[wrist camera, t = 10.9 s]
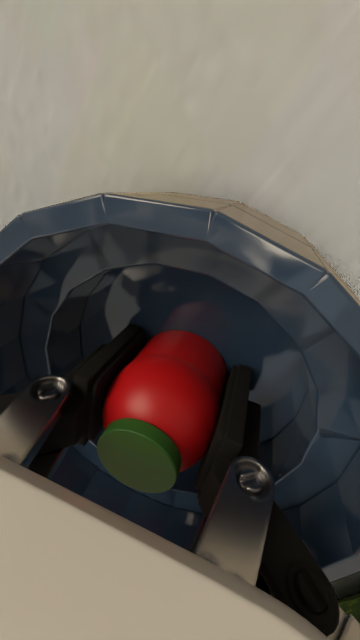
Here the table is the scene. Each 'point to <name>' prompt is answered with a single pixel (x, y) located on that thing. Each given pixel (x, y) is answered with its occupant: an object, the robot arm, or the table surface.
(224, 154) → the table surface
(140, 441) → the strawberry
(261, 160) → the table surface
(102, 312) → the bowl
